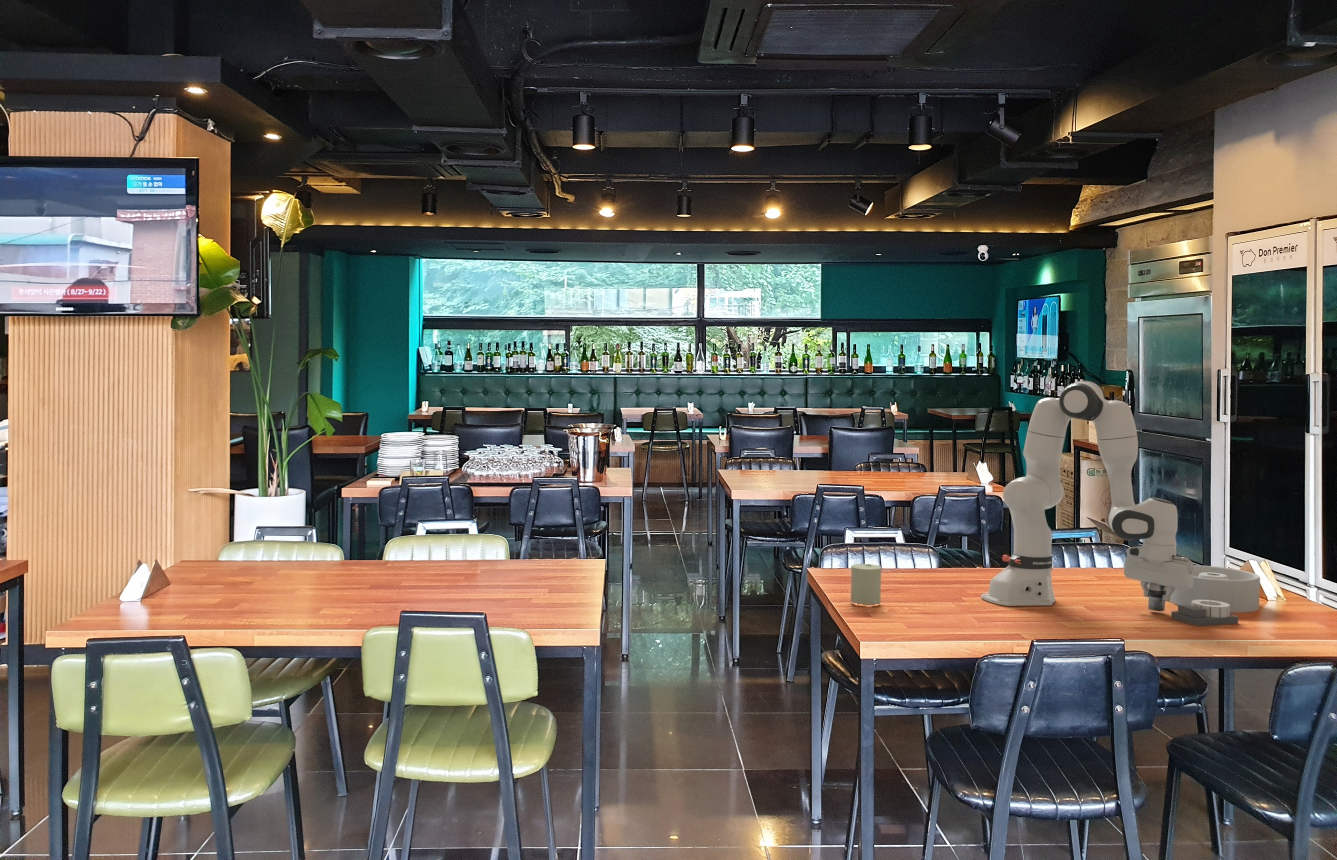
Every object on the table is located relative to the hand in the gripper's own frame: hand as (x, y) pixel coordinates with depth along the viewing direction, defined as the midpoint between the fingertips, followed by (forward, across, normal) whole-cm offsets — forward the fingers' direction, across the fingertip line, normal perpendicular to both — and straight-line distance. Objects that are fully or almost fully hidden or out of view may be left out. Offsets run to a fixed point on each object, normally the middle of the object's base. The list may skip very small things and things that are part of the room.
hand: (1156, 598), depth 296 cm
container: (+4, -1, -28) cm, 28 cm away
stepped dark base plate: (+4, -13, -3) cm, 14 cm away
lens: (+3, 0, 0) cm, 3 cm away
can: (+6, +51, +68) cm, 85 cm away
